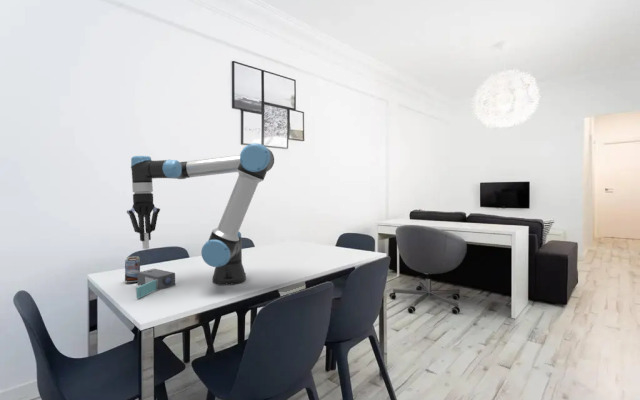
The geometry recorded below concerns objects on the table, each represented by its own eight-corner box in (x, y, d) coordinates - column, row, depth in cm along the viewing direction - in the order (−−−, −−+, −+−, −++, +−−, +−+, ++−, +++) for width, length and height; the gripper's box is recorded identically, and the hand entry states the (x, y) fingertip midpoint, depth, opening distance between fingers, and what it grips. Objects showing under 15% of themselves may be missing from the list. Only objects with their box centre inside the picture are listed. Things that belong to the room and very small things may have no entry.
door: (156, 288, 141) (155, 279, 141) (159, 288, 141) (159, 279, 141) (135, 298, 129) (135, 287, 129) (139, 298, 129) (139, 287, 129)
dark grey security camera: (176, 285, 148) (176, 272, 147) (159, 290, 141) (159, 276, 141) (154, 280, 157) (154, 267, 157) (137, 284, 150) (137, 271, 150)
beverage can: (124, 284, 150) (123, 258, 149) (126, 280, 156) (125, 255, 156) (139, 283, 152) (139, 257, 152) (141, 279, 159) (140, 254, 158)
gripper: (154, 192, 147) (157, 245, 148) (122, 193, 137) (125, 250, 138) (162, 192, 142) (165, 246, 143) (130, 193, 132) (133, 251, 133)
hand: (145, 248), depth 141 cm, fingers closed
